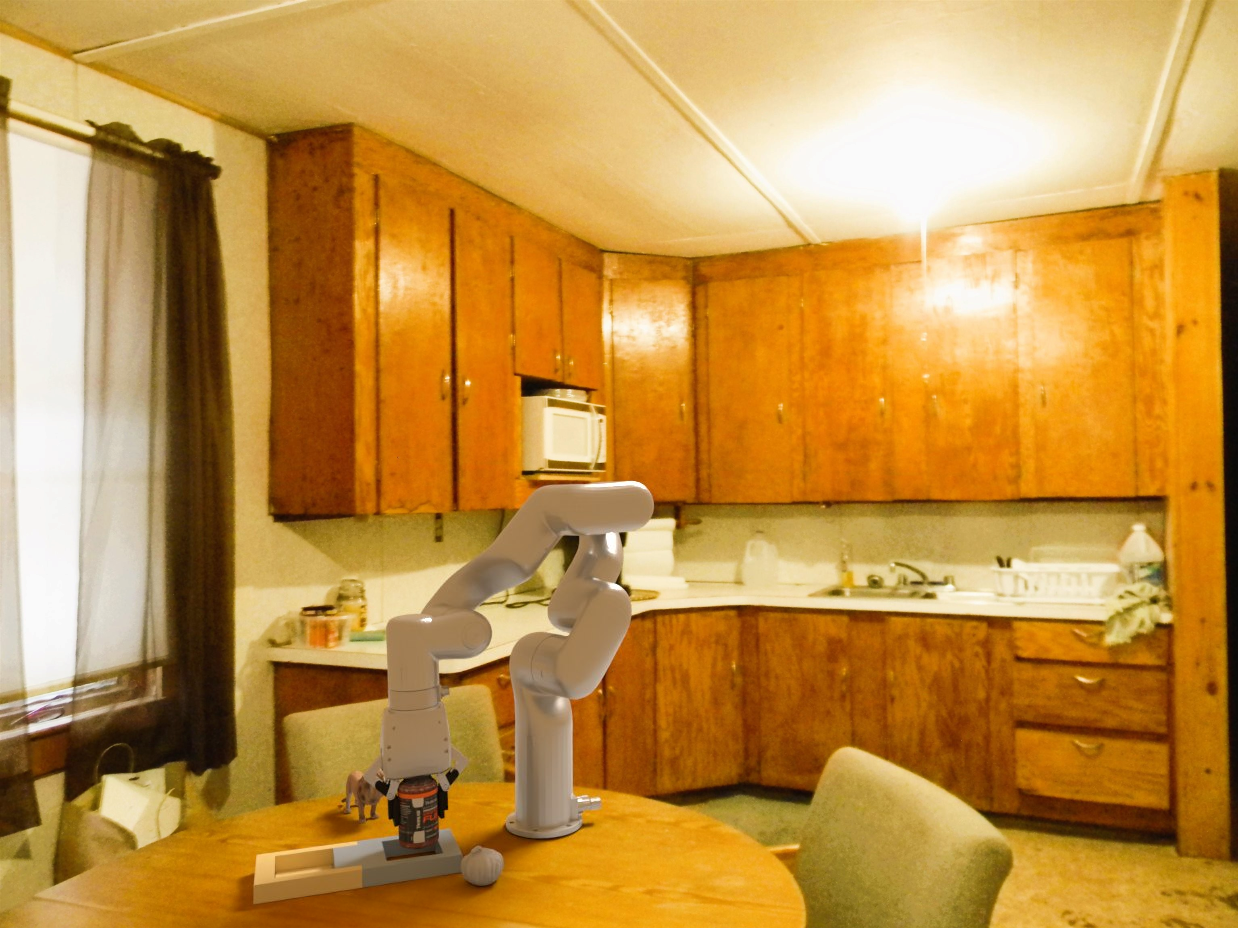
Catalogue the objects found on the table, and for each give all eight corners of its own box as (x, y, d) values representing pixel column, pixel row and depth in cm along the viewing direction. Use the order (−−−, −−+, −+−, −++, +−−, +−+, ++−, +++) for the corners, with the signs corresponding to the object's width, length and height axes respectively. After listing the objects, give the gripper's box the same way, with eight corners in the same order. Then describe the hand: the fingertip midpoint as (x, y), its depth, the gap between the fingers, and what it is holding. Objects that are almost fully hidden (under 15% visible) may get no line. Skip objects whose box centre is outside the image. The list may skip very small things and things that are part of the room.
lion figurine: (398, 821, 148) (398, 767, 148) (369, 829, 144) (370, 774, 145) (354, 801, 158) (354, 750, 159) (326, 808, 154) (327, 756, 155)
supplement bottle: (429, 852, 127) (426, 773, 128) (391, 850, 129) (388, 772, 129) (445, 835, 133) (442, 760, 133) (409, 833, 134) (406, 759, 135)
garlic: (463, 893, 120) (463, 855, 120) (458, 877, 125) (458, 840, 126) (506, 888, 122) (506, 849, 122) (500, 872, 127) (500, 835, 127)
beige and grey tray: (449, 844, 137) (449, 828, 138) (462, 872, 127) (462, 854, 127) (256, 872, 128) (256, 854, 128) (253, 904, 117) (253, 885, 117)
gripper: (467, 686, 138) (471, 801, 137) (352, 699, 132) (356, 820, 131) (476, 696, 131) (480, 818, 130) (356, 711, 125) (360, 839, 124)
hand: (418, 818), depth 131 cm, fingers closed on supplement bottle, 6 cm apart
